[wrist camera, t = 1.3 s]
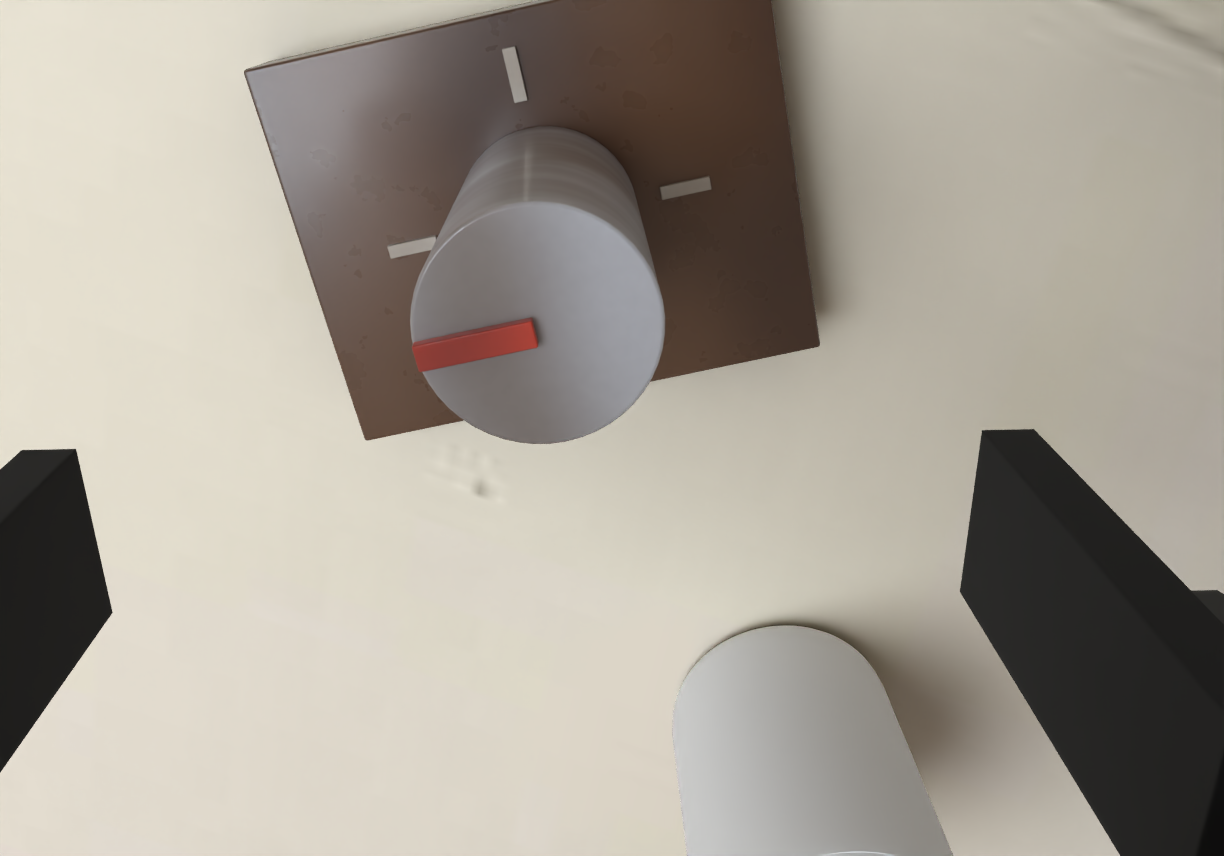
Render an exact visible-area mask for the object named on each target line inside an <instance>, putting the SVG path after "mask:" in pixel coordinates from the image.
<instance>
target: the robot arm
mask: <svg viewBox="0 0 1224 856" xmlns="http://www.w3.org/2000/svg"><path fill="white" fill-rule="evenodd" d="M960 593H961V594H962V596H963V598H964V599H965V601H966V603H967V604H968V606H969V607H970V609H971V611H972V612H973V614H974V616H975V617H976V619H977V621H978V622H979V624H980V626H981V627H982V629H983V630H984V632H985V634H986V635H987V637H988V639H989V640H990V642H991V644H992V645H993V647H994V649H995V650H996V652H997V653H998V655H999V657H1000V658H1001V660H1002V662H1003V663H1004V665H1005V667H1006V668H1007V670H1008V672H1009V673H1010V675H1011V677H1012V678H1013V680H1014V681H1015V683H1016V685H1017V686H1018V688H1019V690H1020V691H1021V693H1022V695H1023V696H1024V698H1025V700H1026V701H1027V703H1028V704H1029V706H1030V708H1031V709H1032V711H1033V713H1034V714H1035V716H1036V718H1037V719H1038V721H1039V723H1040V724H1041V726H1042V727H1043V729H1044V731H1045V732H1046V734H1047V736H1048V737H1049V739H1050V741H1051V742H1052V744H1053V746H1054V747H1055V749H1056V751H1057V752H1058V754H1059V755H1060V757H1061V759H1062V760H1063V762H1064V764H1065V765H1066V767H1067V769H1068V770H1069V772H1070V774H1071V775H1072V777H1073V778H1074V780H1075V782H1076V783H1077V785H1078V787H1079V788H1080V790H1081V792H1082V793H1083V795H1084V797H1085V798H1086V800H1087V801H1088V803H1089V805H1090V806H1091V808H1092V810H1093V811H1094V813H1095V815H1096V816H1097V818H1098V820H1099V821H1100V823H1101V825H1102V826H1103V828H1104V829H1105V831H1106V833H1107V834H1108V836H1109V838H1110V839H1111V841H1112V843H1113V844H1114V846H1115V848H1116V849H1117V851H1118V852H1119V854H1120V856H1224V594H1223V593H1221V592H1219V591H1217V590H1206V591H1191V590H1190V589H1189V588H1188V587H1187V586H1186V585H1185V584H1184V583H1183V582H1182V581H1181V580H1180V579H1179V578H1178V577H1177V576H1176V575H1175V574H1174V573H1173V572H1172V571H1171V570H1170V569H1169V568H1168V567H1167V566H1166V565H1165V564H1164V563H1163V562H1162V561H1161V559H1160V558H1159V557H1158V556H1157V555H1156V554H1155V553H1154V552H1153V551H1152V550H1151V549H1150V548H1149V547H1148V546H1147V545H1146V544H1145V543H1144V542H1143V541H1142V540H1141V539H1140V538H1139V537H1138V536H1137V535H1136V534H1135V533H1134V532H1133V531H1132V530H1131V529H1130V528H1129V527H1128V526H1127V525H1126V524H1125V522H1124V521H1123V520H1122V519H1121V518H1120V517H1119V516H1118V515H1117V514H1116V513H1115V512H1114V511H1113V510H1112V509H1111V508H1110V507H1109V506H1108V505H1107V504H1106V503H1105V502H1104V501H1103V500H1102V499H1101V498H1100V497H1099V496H1098V495H1097V494H1096V493H1095V492H1094V491H1093V490H1092V489H1091V488H1090V487H1089V485H1088V484H1087V483H1086V482H1085V481H1084V480H1083V479H1082V478H1081V477H1080V476H1079V475H1078V474H1077V473H1076V472H1075V471H1074V470H1073V469H1072V468H1071V467H1070V466H1069V465H1068V464H1067V463H1066V462H1065V461H1064V460H1063V459H1062V458H1061V457H1060V456H1059V455H1058V454H1057V453H1056V452H1055V451H1054V450H1053V448H1052V447H1051V446H1050V445H1049V444H1048V443H1047V442H1046V441H1045V440H1044V439H1043V438H1042V437H1041V436H1040V435H1039V434H1038V433H1037V432H1036V431H1035V430H1034V429H1023V430H982V435H981V442H980V450H979V457H978V464H977V471H976V479H975V486H974V493H973V501H972V508H971V515H970V522H969V530H968V537H967V544H966V552H965V559H964V566H963V573H962V581H961V588H960ZM111 614H112V609H111V604H110V600H109V595H108V591H107V586H106V582H105V577H104V573H103V568H102V564H101V559H100V555H99V550H98V546H97V541H96V537H95V532H94V528H93V523H92V519H91V514H90V510H89V505H88V501H87V496H86V492H85V487H84V483H83V478H82V474H81V470H80V465H79V461H78V456H77V452H76V449H59V450H22V451H20V452H19V453H18V454H17V455H16V456H15V457H14V458H13V459H12V460H10V461H9V462H8V463H7V464H6V465H5V466H4V467H3V468H2V469H0V772H1V771H2V769H3V768H4V766H5V765H6V764H7V762H8V761H9V759H10V758H11V756H12V755H13V754H14V752H15V751H16V749H17V748H18V746H19V745H20V744H21V742H22V741H23V739H24V738H25V736H26V735H27V734H28V732H29V731H30V729H31V728H32V727H33V725H34V724H35V722H36V721H37V719H38V718H39V717H40V715H41V714H42V712H43V711H44V709H45V708H46V707H47V705H48V704H49V702H50V701H51V699H52V698H53V697H54V695H55V694H56V692H57V691H58V689H59V688H60V687H61V685H62V684H63V682H64V681H65V680H66V678H67V677H68V675H69V674H70V672H71V671H72V670H73V668H74V667H75V665H76V664H77V662H78V661H79V660H80V658H81V657H82V655H83V654H84V652H85V651H86V650H87V648H88V647H89V645H90V644H91V642H92V641H93V640H94V638H95V637H96V635H97V634H98V633H99V631H100V630H101V628H102V627H103V625H104V624H105V623H106V621H107V620H108V618H109V617H110V615H111Z"/></svg>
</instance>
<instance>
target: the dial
mask: <svg viewBox="0 0 1224 856" xmlns="http://www.w3.org/2000/svg"><path fill="white" fill-rule="evenodd" d="M410 326H411V337H412V342H413V345H412V350H413V354H414V357H415V360H416V364H417V367H418V370H419V372H423V374H424V376H425V378H426V380H427V382H428V383H429V385H430V386H431V388H432V389H433V390H434V392H435V393H436V395H437V396H438V397H439V398H440V399H441V400H442V401H443V402H444V403H445V405H446V406H447V407H448V408H449V409H451V410H452V411H453V412H454V413H455V414H457V415H458V416H459V417H460V418H462V419H463V420H465V421H466V422H468V423H469V424H471V425H472V426H474V427H476V428H478V429H480V430H482V431H484V432H486V433H488V434H491V435H494V436H496V437H499V438H502V439H506V440H511V441H515V442H520V443H531V444H551V443H558V442H565V441H569V440H573V439H577V438H580V437H583V436H586V435H588V434H591V433H593V432H595V431H598V430H599V429H601V428H603V427H605V426H607V425H608V424H610V423H611V422H613V421H614V420H616V419H617V418H618V417H620V416H621V415H622V414H624V413H625V412H626V411H627V410H628V409H629V408H630V407H631V406H632V405H633V404H634V403H635V402H636V400H637V399H638V398H639V397H640V395H641V394H642V393H643V392H644V390H645V389H646V387H647V385H648V384H649V382H650V380H651V379H652V377H653V375H654V372H655V370H656V368H657V366H658V363H659V360H660V356H661V353H662V349H663V343H664V336H665V313H664V305H663V299H662V295H661V292H660V288H659V284H658V280H657V276H656V273H655V269H654V265H653V261H652V257H651V253H650V250H649V246H648V242H647V238H646V234H645V231H644V227H643V223H642V219H641V215H640V211H639V208H638V204H637V200H636V196H635V193H634V189H633V186H632V184H631V181H630V179H629V177H628V175H627V173H626V171H625V170H624V168H623V166H622V165H621V164H620V162H619V161H618V160H617V159H616V157H615V156H614V155H613V154H612V153H611V152H610V151H609V150H608V149H607V148H605V147H604V146H603V145H601V144H600V143H599V142H598V141H596V140H594V139H592V138H591V137H589V136H587V135H585V134H582V133H580V132H578V131H575V130H571V129H567V128H563V127H555V126H538V127H531V128H526V129H523V130H519V131H516V132H514V133H511V134H509V135H507V136H505V137H503V138H502V139H500V140H498V141H497V142H495V143H494V144H493V145H491V146H490V147H489V148H488V149H487V150H485V151H484V153H483V154H482V155H481V156H480V157H479V158H478V159H477V161H476V162H475V163H474V165H473V166H472V168H471V169H470V171H469V173H468V175H467V177H466V179H465V181H464V183H463V185H462V188H461V190H460V192H459V194H458V196H457V198H456V200H455V202H454V204H453V206H452V208H451V210H450V212H449V215H448V217H447V219H446V221H445V223H444V225H443V227H442V229H441V231H440V233H439V235H438V237H437V239H436V242H435V244H434V246H433V248H432V250H431V252H430V254H429V256H428V258H427V260H426V262H425V264H424V266H423V269H422V271H421V273H420V275H419V278H418V280H417V283H416V286H415V289H414V293H413V299H412V304H411V316H410Z"/></svg>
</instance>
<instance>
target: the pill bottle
mask: <svg viewBox="0 0 1224 856" xmlns="http://www.w3.org/2000/svg"><path fill="white" fill-rule="evenodd" d="M672 735H673V745H674V753H675V761H676V770H677V778H678V786H679V794H680V802H681V811H682V819H683V827H684V835H685V843H686V852H687V856H953V853H952V851H951V848H950V846H949V844H948V841H947V839H946V836H945V834H944V832H943V829H942V827H941V824H940V822H939V819H938V817H937V815H936V812H935V810H934V807H933V805H932V802H931V800H930V798H929V795H928V793H927V790H926V788H925V785H924V783H923V781H922V778H921V776H920V773H919V771H918V769H917V766H916V764H915V761H914V759H913V756H912V754H911V752H910V749H909V747H908V744H907V742H906V739H905V737H904V735H903V732H902V730H901V727H900V725H899V722H898V720H897V718H896V715H895V713H894V710H893V708H892V705H891V703H890V701H889V698H888V696H887V693H886V691H885V689H884V686H883V684H882V683H881V681H880V679H879V678H878V676H877V674H876V673H875V671H874V669H873V668H872V666H871V665H870V664H869V662H868V661H867V660H866V659H865V658H864V657H863V656H862V655H861V654H860V653H859V652H858V651H857V650H856V649H855V648H853V647H852V646H851V645H849V644H848V643H846V642H845V641H843V640H841V639H839V638H837V637H835V636H833V635H831V634H829V633H826V632H823V631H820V630H816V629H813V628H808V627H801V626H770V627H764V628H758V629H754V630H751V631H747V632H744V633H741V634H739V635H736V636H734V637H732V638H730V639H728V640H726V641H724V642H722V643H721V644H719V645H718V646H716V647H715V648H713V649H712V650H710V651H709V652H708V653H707V654H706V655H704V656H703V657H702V658H701V659H700V660H699V661H698V662H697V663H696V664H695V666H694V667H693V668H692V669H691V671H690V672H689V673H688V675H687V676H686V678H685V680H684V681H683V683H682V685H681V687H680V690H679V692H678V695H677V698H676V701H675V705H674V711H673V728H672Z"/></svg>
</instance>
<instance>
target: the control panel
mask: <svg viewBox="0 0 1224 856" xmlns="http://www.w3.org/2000/svg"><path fill="white" fill-rule="evenodd" d="M244 75H245V78H246V81H247V84H248V87H249V90H250V93H251V96H252V99H253V102H254V105H255V108H256V111H257V114H258V117H259V120H260V123H261V126H262V129H263V132H264V135H265V138H266V141H267V144H268V147H269V150H270V153H271V156H272V159H273V162H274V165H275V168H276V171H277V174H278V178H279V181H280V184H281V187H282V190H283V193H284V196H285V199H286V202H287V205H288V208H289V211H290V214H291V217H292V220H293V223H294V226H295V229H296V232H297V235H298V238H299V241H300V244H301V247H302V250H303V253H304V256H305V259H306V262H307V265H308V268H309V271H310V274H311V277H312V280H313V283H314V287H315V290H316V293H317V296H318V299H319V302H320V305H321V308H322V311H323V314H324V317H325V320H326V323H327V326H328V329H329V332H330V335H331V338H332V341H333V344H334V347H335V350H336V353H337V356H338V359H339V362H340V365H341V368H342V371H343V374H344V377H345V380H346V383H347V386H348V389H349V393H350V396H351V399H352V402H353V405H354V408H355V411H356V414H357V417H358V420H359V423H360V426H361V429H362V432H363V435H364V438H365V440H372V439H377V438H382V437H386V436H391V435H396V434H401V433H406V432H411V431H415V430H420V429H425V428H430V427H435V426H439V425H444V424H449V423H454V422H459V421H463V419H462V418H460V417H459V416H458V415H457V414H455V413H454V412H453V411H452V410H451V409H449V408H448V407H447V406H446V405H445V403H444V402H443V401H442V400H441V399H440V398H439V397H438V396H437V395H436V393H435V392H434V390H433V389H432V388H431V386H430V385H429V383H428V382H427V380H426V378H425V376H424V374H423V372H419V370H418V367H417V364H416V360H415V357H414V354H413V350H412V345H413V342H412V337H411V326H410V316H411V304H412V299H413V293H414V289H415V286H416V283H417V280H418V278H419V275H420V273H421V271H422V269H423V266H424V264H425V262H426V260H427V258H428V256H429V254H430V252H431V250H432V248H433V246H434V244H435V242H436V239H437V237H438V235H439V233H440V231H441V229H442V227H443V225H444V223H445V221H446V219H447V217H448V215H449V212H450V210H451V208H452V206H453V204H454V202H455V200H456V198H457V196H458V194H459V192H460V190H461V188H462V185H463V183H464V181H465V179H466V177H467V175H468V173H469V171H470V169H471V168H472V166H473V165H474V163H475V162H476V161H477V159H478V158H479V157H480V156H481V155H482V154H483V153H484V151H485V150H487V149H488V148H489V147H490V146H491V145H493V144H494V143H495V142H497V141H498V140H500V139H502V138H503V137H505V136H507V135H509V134H511V133H514V132H516V131H519V130H523V129H526V128H531V127H538V126H555V127H563V128H567V129H571V130H575V131H578V132H580V133H582V134H585V135H587V136H589V137H591V138H592V139H594V140H596V141H598V142H599V143H600V144H601V145H603V146H604V147H605V148H607V149H608V150H609V151H610V152H611V153H612V154H613V155H614V156H615V157H616V159H617V160H618V161H619V162H620V164H621V165H622V166H623V168H624V170H625V171H626V173H627V175H628V177H629V179H630V181H631V184H632V186H633V189H634V193H635V196H636V200H637V204H638V208H639V211H640V215H641V219H642V223H643V227H644V231H645V234H646V238H647V242H648V246H649V250H650V253H651V257H652V261H653V265H654V269H655V273H656V276H657V280H658V284H659V288H660V292H661V295H662V299H663V305H664V313H665V336H664V343H663V349H662V353H661V356H660V360H659V363H658V366H657V368H656V370H655V372H654V375H653V377H652V379H651V380H650V382H651V381H656V380H661V379H665V378H670V377H675V376H680V375H685V374H689V373H694V372H699V371H704V370H709V369H713V368H718V367H723V366H728V365H733V364H738V363H742V362H747V361H752V360H757V359H762V358H766V357H771V356H776V355H781V354H786V353H790V352H795V351H800V350H805V349H810V348H814V347H818V346H819V345H820V340H819V333H818V326H817V319H816V312H815V305H814V297H813V290H812V283H811V276H810V269H809V262H808V255H807V248H806V241H805V234H804V226H803V219H802V212H801V205H800V198H799V191H798V184H797V177H796V170H795V163H794V155H793V148H792V141H791V134H790V127H789V120H788V113H787V106H786V99H785V92H784V85H783V77H782V70H781V63H780V56H779V49H778V42H777V35H776V28H775V21H774V14H773V6H772V0H537V1H533V2H528V3H524V4H520V5H515V6H511V7H506V8H502V9H498V10H493V11H489V12H484V13H480V14H476V15H471V16H467V17H462V18H458V19H454V20H449V21H445V22H440V23H436V24H432V25H427V26H423V27H418V28H414V29H410V30H405V31H401V32H397V33H392V34H388V35H383V36H379V37H375V38H370V39H366V40H361V41H357V42H353V43H348V44H344V45H339V46H335V47H331V48H326V49H322V50H317V51H313V52H309V53H304V54H300V55H295V56H291V57H287V58H282V59H278V60H274V61H269V62H266V63H263V64H260V65H257V66H255V67H252V68H249V69H246V70H245V71H244Z"/></svg>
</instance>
